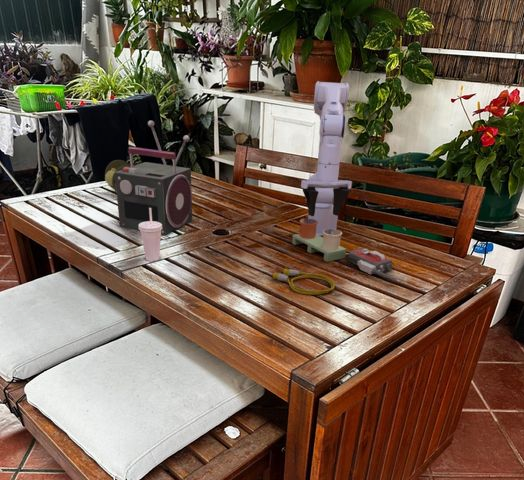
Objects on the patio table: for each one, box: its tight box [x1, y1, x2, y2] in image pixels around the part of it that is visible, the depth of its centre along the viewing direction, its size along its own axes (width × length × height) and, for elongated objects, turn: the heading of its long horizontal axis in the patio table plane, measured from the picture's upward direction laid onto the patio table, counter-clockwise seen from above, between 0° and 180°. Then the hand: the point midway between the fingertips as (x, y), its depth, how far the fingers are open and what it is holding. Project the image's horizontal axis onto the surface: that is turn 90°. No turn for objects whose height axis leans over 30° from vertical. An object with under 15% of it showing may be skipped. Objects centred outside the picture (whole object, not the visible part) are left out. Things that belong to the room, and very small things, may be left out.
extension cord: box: [272, 267, 336, 296], centre depth 134 cm, size 12×16×2 cm
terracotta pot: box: [298, 218, 318, 239], centre depth 157 cm, size 6×6×5 cm
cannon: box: [104, 159, 131, 192], centre depth 199 cm, size 25×12×11 cm, turn 119°
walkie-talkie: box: [344, 247, 397, 282], centre depth 143 cm, size 9×4×20 cm
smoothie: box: [138, 208, 162, 262], centre depth 141 cm, size 6×6×14 cm
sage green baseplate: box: [291, 233, 347, 263], centre depth 155 cm, size 7×17×3 cm, turn 34°
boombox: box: [114, 120, 193, 236], centre depth 163 cm, size 18×21×30 cm
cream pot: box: [322, 229, 343, 250], centre depth 149 cm, size 6×6×5 cm
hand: (323, 215), depth 144 cm, fingers open, 7 cm apart
